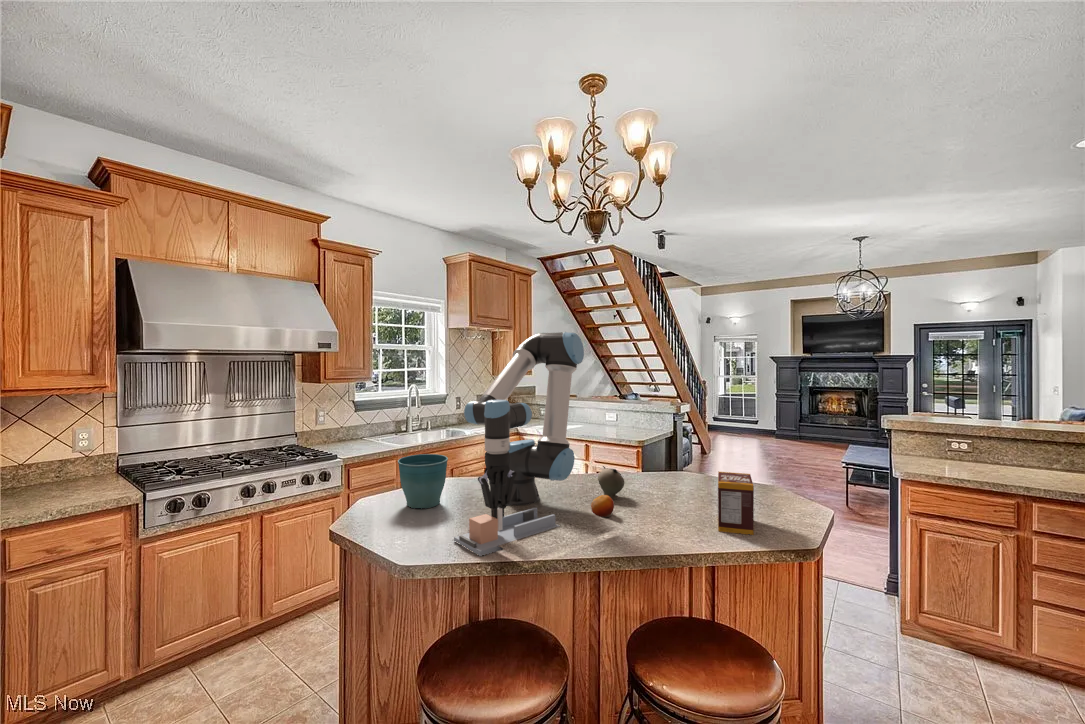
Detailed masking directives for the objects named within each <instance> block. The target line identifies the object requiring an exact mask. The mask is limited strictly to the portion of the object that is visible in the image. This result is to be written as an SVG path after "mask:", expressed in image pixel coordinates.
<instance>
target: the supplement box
mask: <svg viewBox="0 0 1085 724" xmlns="http://www.w3.org/2000/svg"><path fill="white" fill-rule="evenodd" d="M717 473H718V474H717V475H718V476H717V477H718V478H717V524H718V525H717V527H718V529H717V530H718V531H717V532H722V533H731V534H739V533H741V535H748V534H750V536H754V530H755V529H754V526H755V525H754V517H755V516H754V511H755V509H754V508H755V507H754V506H755V505H754V499H755V498H754V496H755V495H754V494H755V491H754V489H755V487H754V482H753V479H752V477H751V473H744V472H742V473H740V472H729V471H728V472H727V471H718V472H717Z"/></svg>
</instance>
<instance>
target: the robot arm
mask: <svg viewBox="0 0 1085 724" xmlns="http://www.w3.org/2000/svg"><path fill="white" fill-rule="evenodd" d="M584 351H585V349H584V344H583V341H582V338H581V337H580V336H579V334H578V333H575V332H567V331H563V332H539V333H537V334H533V335H532V336H530V337H528V338H527V339H525V340H524V341H522V342H521V343H520V344H519V345H518V346H517V347H516V348H515V350H514V351H513V352H512V354H511V355H512V357H511V358H510V360H509V361H508V363H507V364H506V365H505V367H503V369H502V370H501V372H500V373H499V374H498V375H497V376H496V378H495V379H494V380H493V381H492V383H491V384H490V385H489V386H488V388H487V389H485V390H486V391H484V393H483V394H482V395H481V397H480V398H479V399H478V400H471V401H469V402H467V403H466V405H465V406H464V410H463V415H464V418H465V421H466V422H467V423H468V424H473V425H477V426H478V425H479V426H482V425H483V426H484V450H485V453H484V464H485V465H484V466H485V469H484V474H483V475H482V476H478V477H477V481H478V483H479V484H480V488H481V492H482V497H483V501H484V505H485V507H486V508H489V509H491V510H490V514H491V515H490V516H492V517H494V518H496V519H498V531H500V530H502V518H503V517H504V516H505V509H507V507H509V506H528V505H532V504H536V503H538V502H539V501H540V500H541V499H540V497H541V496H540V494H539V491H538V488H537V484H536V478H537V479H542V480H550V481H552V482H553V481H559V482H560V481H565V480H566V479H568V477H569V476H570V475H571V473H572V472H573V471H572V470H574V469H573V468H574V466H575V452H574V450H573V449H571V448H570V442H569V440H567V433H568V432H567V430H568V420H569V409H570V399H571V398H570V397H571V387H572V378H573V374H574V372H576V370H577V366H578V365H579V364H581V363H583V361H584V358H585V357H584V356H585V352H584ZM540 364H545V368H546V369H547V371H548V377H547V387H546V388H547V389H546V398H545V406H544V417H543V427H542V434H541V437H540V438H538V440H537V445H536V442H535V440H534V439H521V440H514V441H511V440H510V439H511V437H510V434H511V432H510V431H511V429H516V428H521V427H524V426H526V425H528V424H529V423H530V422H531V420H532V417H533V412H532V408H531V407H530V405H528V404H527V403H525V402H516V403H511V402H509V401H508V398H509V397H510V396H511V394H512V393H513V391H514V390H515V389H516V387H518V384H520V382H521V381H522V380H523V378H524V377H525V376H526V374H527V373H528V371H531V370H532V369H534V368H535V367H536V365H540Z"/></svg>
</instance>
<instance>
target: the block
mask: <svg viewBox="0 0 1085 724" xmlns="http://www.w3.org/2000/svg"><path fill="white" fill-rule="evenodd" d="M468 521H469V523H468V524H469V527H468V528H469V531H468V533H469V538H470V539H471V540H473V541H475V542H477V543H479V544H484V543H487V542H490V541H493V540H497V539H498V519H496V518H494V517H492V516H491V515H489V514H487V513H483V514H479V515H477V516H473V517H469V520H468Z"/></svg>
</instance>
